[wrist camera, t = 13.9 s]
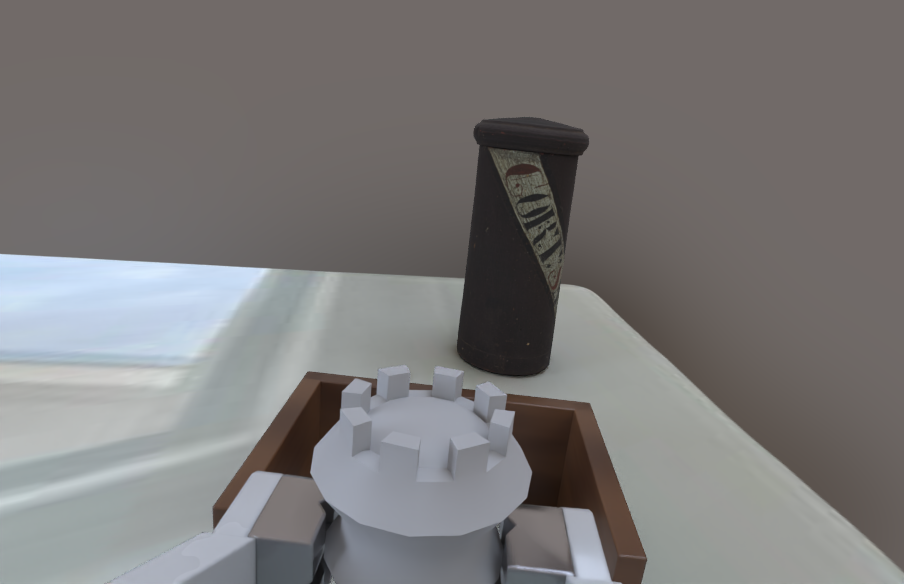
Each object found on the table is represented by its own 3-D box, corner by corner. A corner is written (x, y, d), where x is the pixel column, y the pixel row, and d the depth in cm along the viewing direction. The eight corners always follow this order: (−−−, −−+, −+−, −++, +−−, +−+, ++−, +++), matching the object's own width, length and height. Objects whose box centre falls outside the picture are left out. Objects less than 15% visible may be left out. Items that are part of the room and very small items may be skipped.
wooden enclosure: (615, 690, 21) (648, 559, 19) (216, 640, 21) (211, 507, 19) (572, 498, 31) (590, 402, 30) (305, 467, 32) (307, 370, 30)
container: (497, 387, 43) (533, 116, 38) (432, 344, 50) (453, 109, 44) (574, 367, 49) (616, 125, 43) (505, 330, 55) (533, 118, 49)
